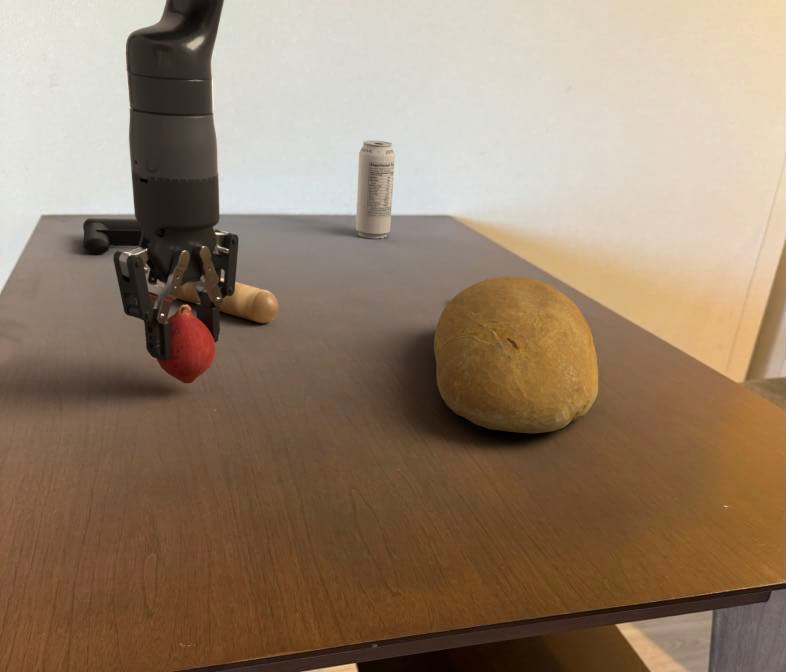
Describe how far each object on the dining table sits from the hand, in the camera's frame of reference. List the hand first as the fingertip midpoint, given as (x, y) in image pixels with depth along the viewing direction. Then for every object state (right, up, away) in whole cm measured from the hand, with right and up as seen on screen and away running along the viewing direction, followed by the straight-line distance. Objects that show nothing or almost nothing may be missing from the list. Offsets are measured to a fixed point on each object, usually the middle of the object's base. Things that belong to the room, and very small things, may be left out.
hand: (184, 348), depth 84 cm
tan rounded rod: (-2, +11, +25) cm, 28 cm away
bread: (+34, -1, +11) cm, 36 cm away
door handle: (-17, +26, +48) cm, 58 cm away
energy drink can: (+17, +35, +66) cm, 77 cm away
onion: (0, -3, +2) cm, 4 cm away
